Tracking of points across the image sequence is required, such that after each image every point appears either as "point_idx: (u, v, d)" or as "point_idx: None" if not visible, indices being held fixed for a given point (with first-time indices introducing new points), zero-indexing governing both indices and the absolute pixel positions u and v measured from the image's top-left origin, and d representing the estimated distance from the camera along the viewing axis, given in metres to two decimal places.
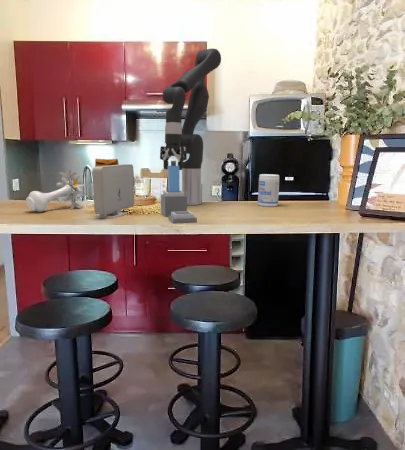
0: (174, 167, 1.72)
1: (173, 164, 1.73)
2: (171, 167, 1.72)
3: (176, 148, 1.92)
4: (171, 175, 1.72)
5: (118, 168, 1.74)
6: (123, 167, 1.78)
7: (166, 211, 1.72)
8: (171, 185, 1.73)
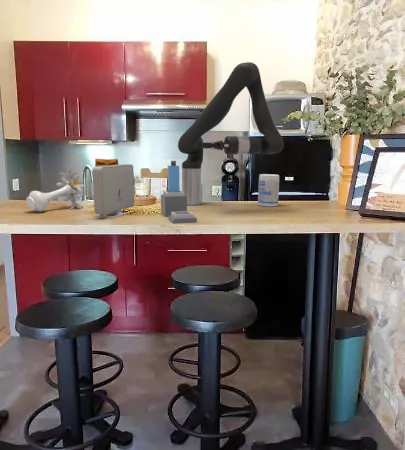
0: (174, 167, 1.72)
1: (173, 164, 1.73)
2: (171, 167, 1.72)
3: None
4: (171, 175, 1.72)
5: (118, 168, 1.74)
6: (123, 167, 1.78)
7: (166, 211, 1.72)
8: (171, 185, 1.73)
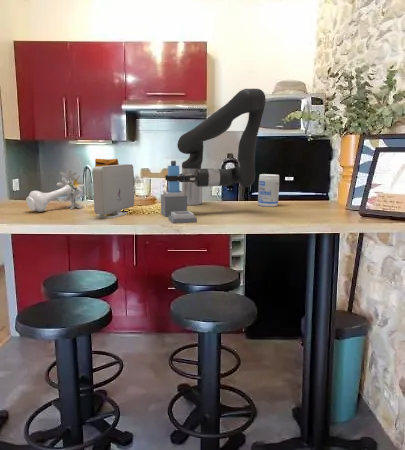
0: (174, 167, 1.72)
1: (173, 164, 1.73)
2: (171, 167, 1.72)
3: None
4: (171, 175, 1.72)
5: (118, 168, 1.74)
6: (123, 167, 1.78)
7: (166, 211, 1.72)
8: (171, 185, 1.73)
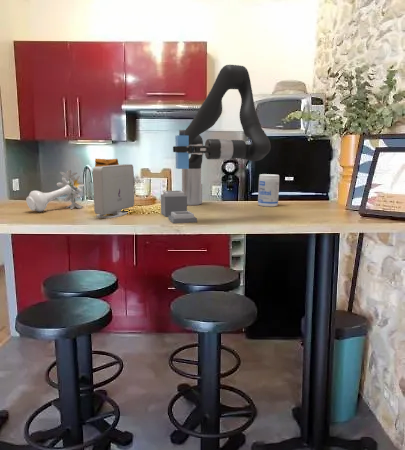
0: (183, 137, 1.56)
1: (182, 133, 1.57)
2: (179, 137, 1.56)
3: None
4: (179, 145, 1.56)
5: (118, 168, 1.74)
6: (123, 167, 1.78)
7: (166, 211, 1.72)
8: (179, 157, 1.57)
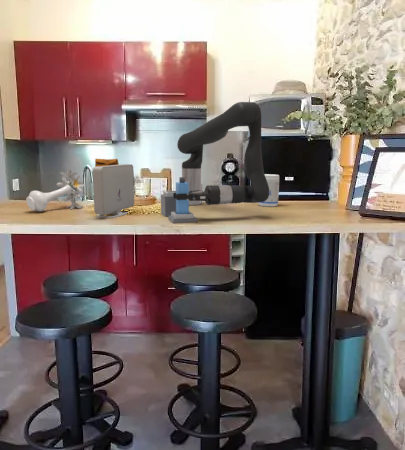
0: (183, 184, 1.59)
1: (182, 181, 1.60)
2: (180, 184, 1.59)
3: None
4: (180, 193, 1.59)
5: (118, 168, 1.74)
6: (123, 167, 1.78)
7: (166, 211, 1.72)
8: (180, 204, 1.60)
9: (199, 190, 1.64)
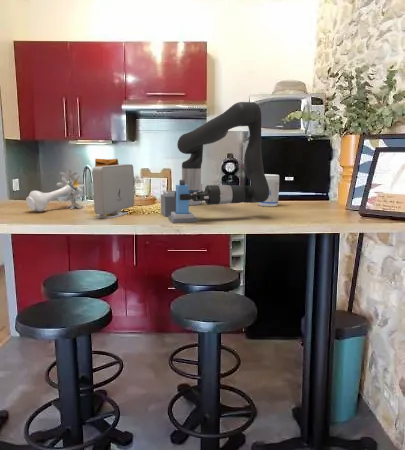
0: (183, 187, 1.59)
1: (182, 183, 1.60)
2: (180, 187, 1.59)
3: None
4: None
5: (118, 168, 1.74)
6: (123, 167, 1.78)
7: (166, 211, 1.72)
8: (180, 206, 1.60)
9: (198, 190, 1.64)
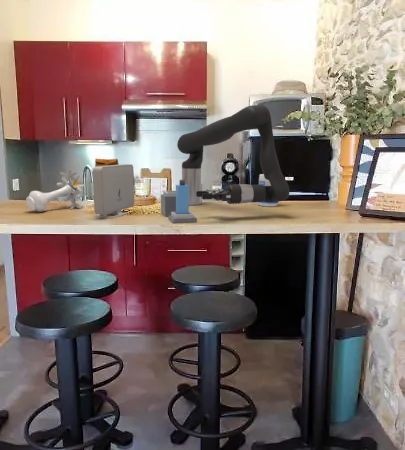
0: (183, 187, 1.59)
1: (182, 183, 1.60)
2: (180, 187, 1.59)
3: None
4: (180, 195, 1.59)
5: (118, 168, 1.74)
6: (123, 167, 1.78)
7: (166, 211, 1.72)
8: (180, 206, 1.60)
9: (220, 189, 1.66)
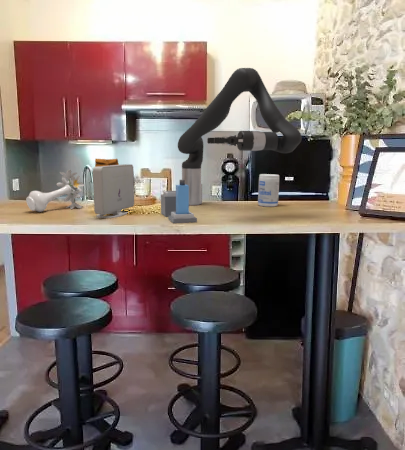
0: (183, 187, 1.59)
1: (182, 183, 1.60)
2: (180, 187, 1.59)
3: None
4: (180, 195, 1.59)
5: (118, 168, 1.74)
6: (123, 167, 1.78)
7: (166, 211, 1.72)
8: (180, 206, 1.60)
9: (231, 135, 1.64)
